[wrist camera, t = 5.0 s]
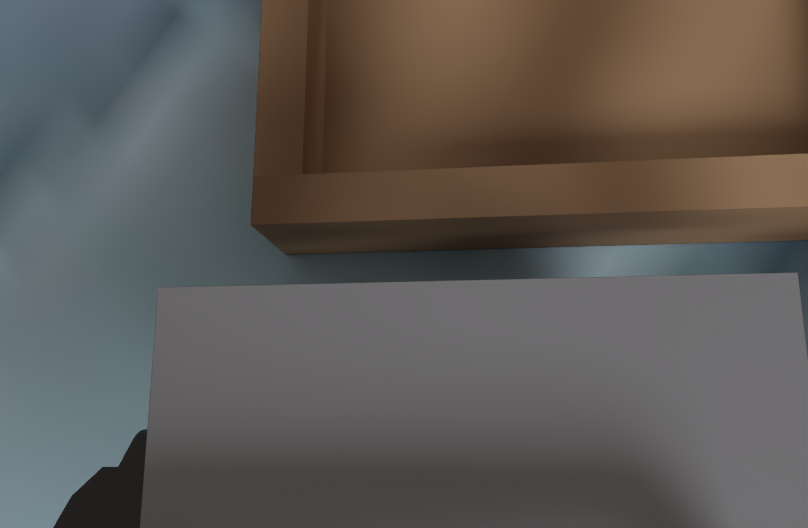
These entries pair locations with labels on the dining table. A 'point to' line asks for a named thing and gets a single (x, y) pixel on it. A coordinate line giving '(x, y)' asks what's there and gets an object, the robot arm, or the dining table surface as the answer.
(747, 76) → the tray
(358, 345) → the grey rectangular block
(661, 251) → the dining table surface
